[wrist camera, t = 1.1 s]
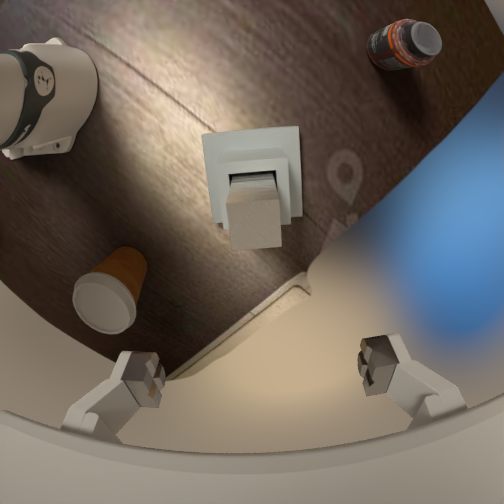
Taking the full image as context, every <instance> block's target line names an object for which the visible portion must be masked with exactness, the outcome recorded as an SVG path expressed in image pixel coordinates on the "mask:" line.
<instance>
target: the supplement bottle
mask: <svg viewBox="0 0 504 504" xmlns="http://www.w3.org/2000/svg"><path fill="white" fill-rule="evenodd" d="M441 47H442V41H441V38H440V35H439V34H438V32H437V31H436V29H435V28H434V27H432V26H431V25H430V24H428V23H425V22H417V21H415V20H411V19H403V20H400V21H397V22H395V23H393V24H391V25H389V26H387V27H385V28H383V29H381V30H379V31H377V32H375V33H373V34H372V35H371V36H370V37H369V39H368V41H367V52H368V55H369V57H370V59H371V60H372V61H373V63H374V64H376V65H377V66H378V67H380V68H382V69H384V70H388V71H394V70H400V69H406V68H413V67H419V66H424V65H427V64H429V63H430V62H431V61H432V60H433V59H434V57H435V55H437V54H438V53H439V52H440V50H441Z"/></svg>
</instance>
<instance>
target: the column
mask: <svg viewBox="0 0 504 504" xmlns="http://www.w3.org/2000/svg"><path fill="white" fill-rule="evenodd" d="M226 209H227V217H228V225H229V232H230V240H231V247H232V251H234V250H247V249H259V248H272V247H282V241H281V221H280V204H279V196H278V193H277V189H276V185H275V181H274V178H273V173H272V170H270V171H257V172H245V173H234V174H233V177H232V181H231V185H230V189H229V193H228V197H227V201H226Z"/></svg>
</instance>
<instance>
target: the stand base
mask: <svg viewBox="0 0 504 504" xmlns="http://www.w3.org/2000/svg"><path fill="white" fill-rule="evenodd" d="M201 136H202V144H203V152H204V159H205V167H206V174H207V181H208V189H209V196H210V203H211V209H212V216H213V223H223V229H224V230H225V229H229V225H228V217H227V209H226V201H227V197H228V193H229V189H230V185H231V181H232V177H233V174H234V173H245V172H257V171H270V170H272V173H273V178H274V181H275V185H276V189H277V193H278V196H279V204H280V221H281V225H288V224H291V217H300V216H302V186H301V162H300V143H299V127H298V126H287V127H270V128H256V129H244V130H234V131H225V132H216V133H208V134H203V135H201Z"/></svg>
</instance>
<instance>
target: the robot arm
mask: <svg viewBox="0 0 504 504" xmlns="http://www.w3.org/2000/svg"><path fill="white" fill-rule="evenodd" d="M97 86H98V82H97V73H96V69H95V66H94V64H93V62H92V60H91V59H90V58H89V56H88V55H87V54H86V53H84V52H83V51H81V50H79V49H76V48H73V47H69V46H67V45H66V43H65V42H64V41H63V40H62V39H60V38H52V39H50V40H49V41H48V42H46V43H45V44H39V43H35V44H26V45H24V46H23V48H21V49H20V50H19V49H12V50H5V51H1V52H0V150H2V152H3V153H4V155H5V156H6V157H10V159H11V160H12V159H16V158H20V157H22V156H27V155H39V154H53V153H65V152H69V151H70V150H71V148H72V146H73V144H74V140H75V137H76V134H77V132H78V131H79V129H80V128H81V127H82V125H83V124H84V123H85V121H86V120H87V118H88V117H89V115H90V113H91V111H92V109H93V106H94V103H95V100H96V95H97ZM58 143H59V144H60V147H59V146H58ZM360 347H361V351H360V352H359V354H358V370H359V373H360V375H361V376H362V377H363V378H364V381H363V386H364V390H365V393H366V396H371V395H377V394H383V393H386V394H387V395H388V396H389V397H390V398H391V399H392V400H393V401H394V402H396V403H397V404H398V405H399V406H400V407H401V408H402V409H403V410H404V411H406V412H407V413H408V414H409V415H410V416H411V417H412V418H413V420H412V422H411V424H410V425H409V427H408V428H407V430H405V431H401V432H397V433H393V434H390V435H385V436H381V437H377V438H372V439H368V440H363V441H358V442H353V443H347V444H342V445H336V446H329V447H322V448H314V449H306V450H296V451H284V452H270V453H231V454H230V453H226V454H225V453H198V452H183V451H171V450H162V449H154V448H146V447H139V446H133V445H127V444H123V443H122V442H121V441H120V439H119V438H118V437H117V436H116V433H117V432H118V431H119V430H120V429H121V428H122V427H123V426H124V425H125V424H126V423H127V422H128V421H129V420H130V418H131V417H132V416H133V415H134V414H135V413H136V412H137V411H138V410H139V409H140V407H150V408H159V404H160V400H161V396H162V395H161V394H160V390H161V389H162V388H163V387H164V385H165V371H164V368H163V366H162V365H161V364H159V363H158V361H159V357H158V355H157V353H152V352H134V351H133V352H131V351H122V352H121V353H120V355H119V358H118V360H117V362H116V364H115V367H114V369H113V371H112V374H111V376H110V379H106V380H105V381H103V382H102V383H101V384H99V385H98V386H97V387H95V388H94V389H93V390H92V391H90V392H89V393H88V394H86V395H85V396H84V397H82V398H81V399H80V400H79V401H77V402H76V403H75V404H73V405H72V406H71V407H70V408H69V410H68V412H67V415H66V417H65V419H64V421H63V424H62V426H61V429H58V428H54V427H51V426H48V425H45V424H42V423H39V422H36V421H33V420H30V419H27V418H25V417H22V416H20V415H17V414H14V413H12V412H10V411H6V410H2V411H0V504H504V393H502V394H501V395H498V396H496V397H494V398H492V399H490V400H488V401H485V402H483V403H481V404H479V405H477V406H474V407H472V408H469V409H468V408H467V406H466V404H465V402H464V400H463V398H462V396H461V394H460V392H459V390H458V388H457V386H455V385H454V384H452V383H451V382H449V381H448V380H446V379H444V378H443V377H441V376H439V375H438V374H436V373H435V372H433V371H432V370H430V369H428V368H427V367H425V366H424V365H422V364H421V363H419V362H417V361H416V360H414V361H412V359H411V357H410V355H409V353H408V351H407V349H406V347H405V345H404V343H403V341H402V339H401V337H400V335H399V334H398V333H393V334H387V335H381V336H375V337H370V338H364V339H362V340H361V344H360Z"/></svg>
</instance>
